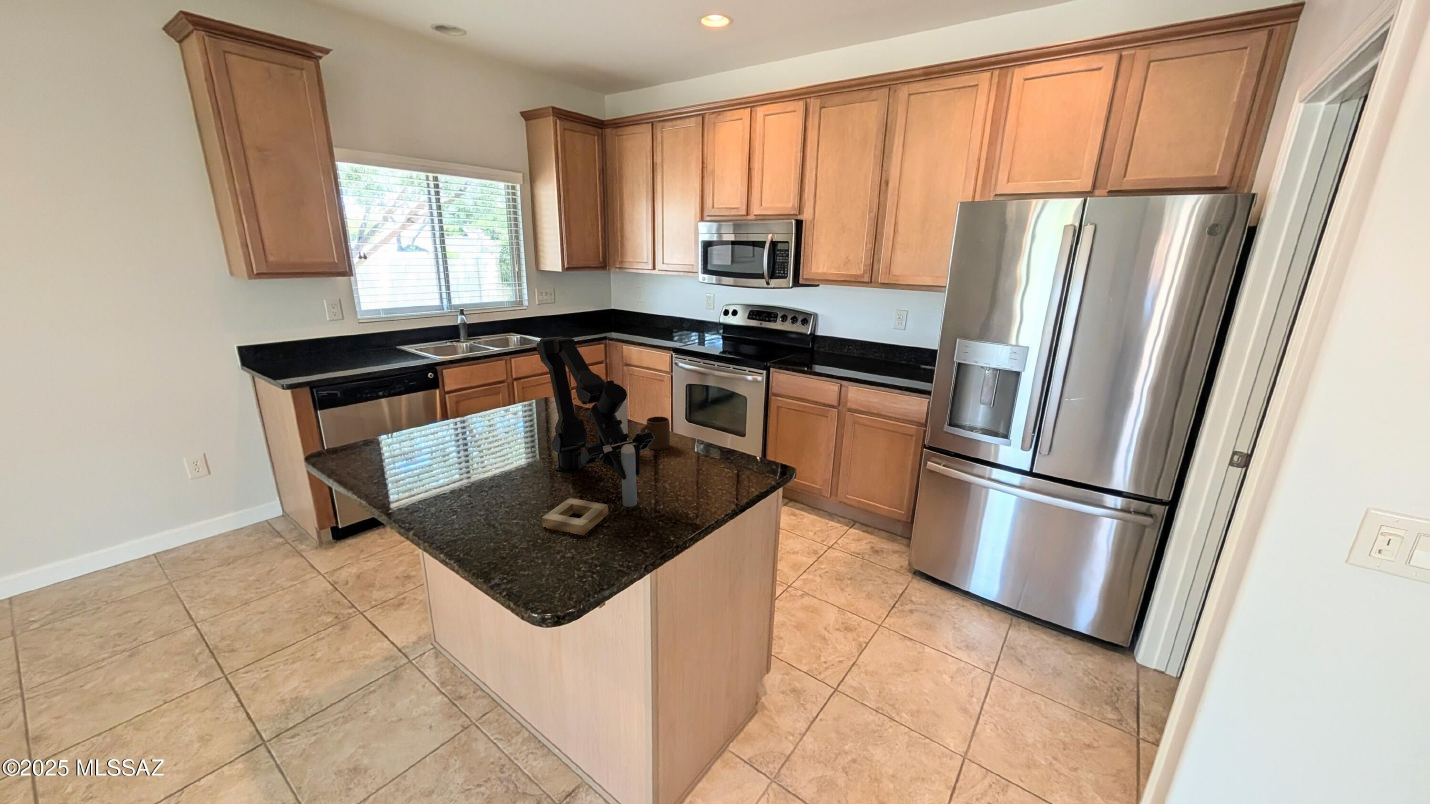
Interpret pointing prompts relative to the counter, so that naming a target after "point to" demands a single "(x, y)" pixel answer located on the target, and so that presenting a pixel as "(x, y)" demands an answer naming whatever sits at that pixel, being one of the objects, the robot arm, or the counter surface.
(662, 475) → the counter surface
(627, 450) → the blue-grey cylinder
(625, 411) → the milk
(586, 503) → the wooden square frame
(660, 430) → the mug
